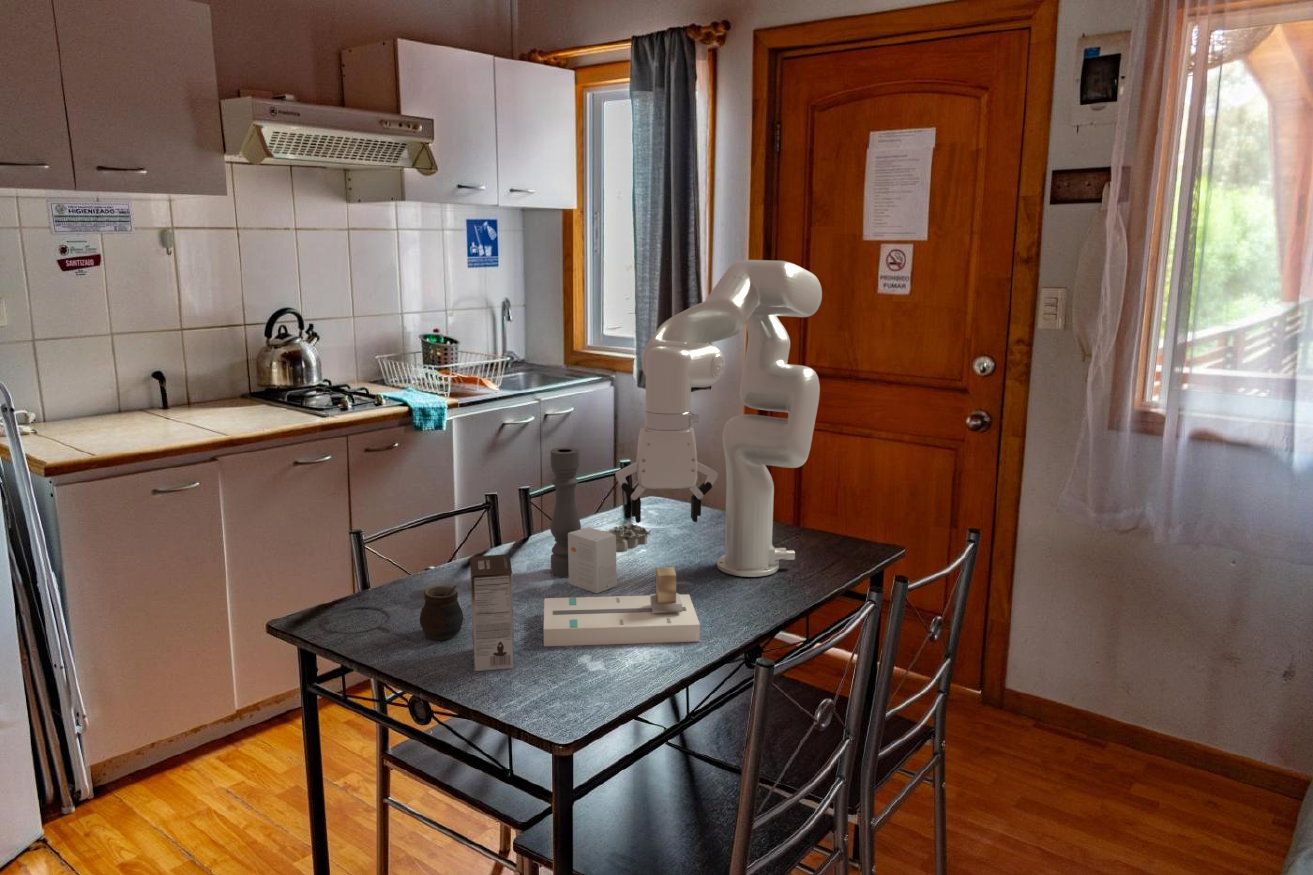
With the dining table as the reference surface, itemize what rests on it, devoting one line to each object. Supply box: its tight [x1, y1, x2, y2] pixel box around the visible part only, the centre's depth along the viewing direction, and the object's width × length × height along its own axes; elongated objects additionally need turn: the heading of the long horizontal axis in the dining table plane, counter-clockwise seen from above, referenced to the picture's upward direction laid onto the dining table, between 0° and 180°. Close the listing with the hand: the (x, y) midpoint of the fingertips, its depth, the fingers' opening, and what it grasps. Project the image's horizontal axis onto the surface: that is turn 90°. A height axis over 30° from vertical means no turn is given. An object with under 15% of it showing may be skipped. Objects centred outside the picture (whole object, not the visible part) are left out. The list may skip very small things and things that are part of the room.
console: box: [543, 593, 701, 647], centre depth 172 cm, size 26×14×3 cm, turn 96°
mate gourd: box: [419, 584, 464, 641], centre depth 168 cm, size 7×8×10 cm
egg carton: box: [603, 521, 652, 553], centre depth 218 cm, size 11×8×4 cm
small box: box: [568, 526, 618, 594], centre depth 192 cm, size 8×6×10 cm
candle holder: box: [549, 447, 582, 578], centre depth 197 cm, size 6×6×25 cm
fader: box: [649, 566, 682, 613], centre depth 172 cm, size 5×5×6 cm
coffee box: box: [469, 553, 515, 672], centre depth 158 cm, size 9×6×16 cm
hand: (665, 520), depth 169 cm, fingers open, 9 cm apart
